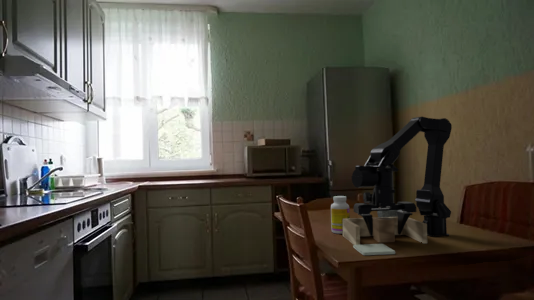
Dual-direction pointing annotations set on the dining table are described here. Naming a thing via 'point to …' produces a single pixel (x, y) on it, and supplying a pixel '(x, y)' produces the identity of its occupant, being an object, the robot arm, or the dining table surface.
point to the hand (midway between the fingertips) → (385, 234)
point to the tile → (373, 249)
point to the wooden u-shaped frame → (359, 228)
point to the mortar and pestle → (387, 213)
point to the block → (384, 229)
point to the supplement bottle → (339, 213)
